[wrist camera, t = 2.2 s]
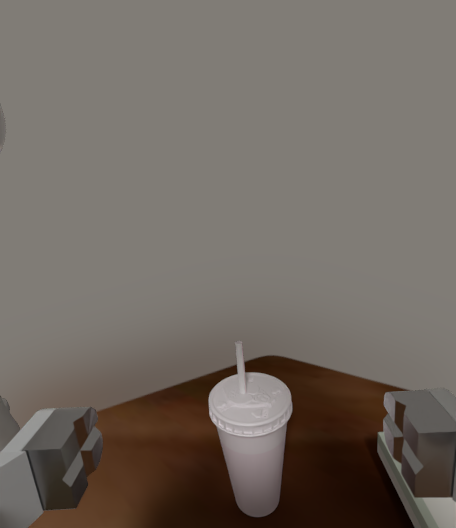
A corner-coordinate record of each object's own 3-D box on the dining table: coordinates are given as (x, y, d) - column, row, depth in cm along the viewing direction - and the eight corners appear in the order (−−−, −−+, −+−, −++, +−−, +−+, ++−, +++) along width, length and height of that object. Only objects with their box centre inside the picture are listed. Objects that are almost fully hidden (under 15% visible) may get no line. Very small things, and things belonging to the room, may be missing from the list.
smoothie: (243, 453, 32) (231, 319, 28) (307, 481, 29) (303, 333, 25) (203, 510, 27) (183, 355, 23) (276, 552, 23) (265, 378, 20)
